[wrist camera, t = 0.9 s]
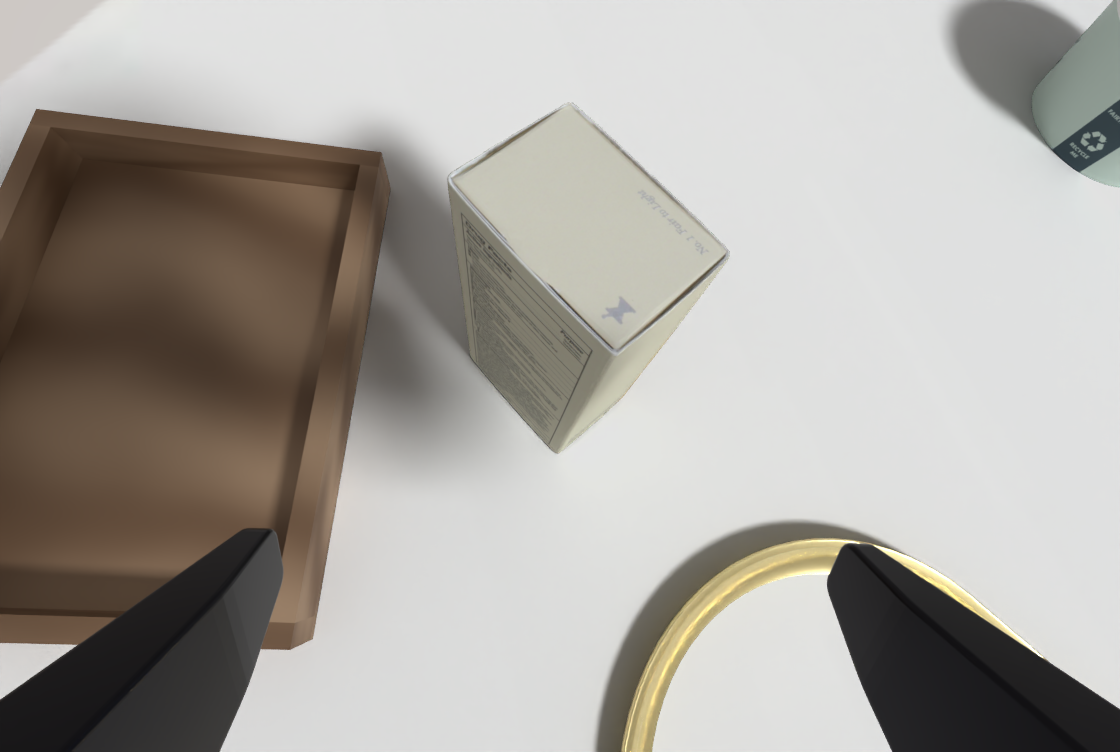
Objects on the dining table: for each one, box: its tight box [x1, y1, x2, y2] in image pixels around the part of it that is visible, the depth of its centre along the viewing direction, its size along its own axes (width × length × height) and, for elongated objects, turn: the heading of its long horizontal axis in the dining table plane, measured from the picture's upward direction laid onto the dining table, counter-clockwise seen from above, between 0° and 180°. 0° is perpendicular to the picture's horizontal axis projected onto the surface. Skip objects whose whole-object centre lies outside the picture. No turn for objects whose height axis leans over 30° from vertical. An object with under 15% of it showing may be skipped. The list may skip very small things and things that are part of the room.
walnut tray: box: [0, 109, 390, 650], centre depth 21 cm, size 20×14×2 cm
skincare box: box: [448, 103, 730, 454], centre depth 19 cm, size 6×4×12 cm
